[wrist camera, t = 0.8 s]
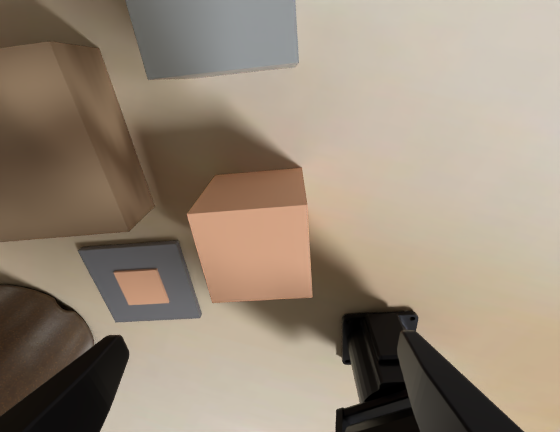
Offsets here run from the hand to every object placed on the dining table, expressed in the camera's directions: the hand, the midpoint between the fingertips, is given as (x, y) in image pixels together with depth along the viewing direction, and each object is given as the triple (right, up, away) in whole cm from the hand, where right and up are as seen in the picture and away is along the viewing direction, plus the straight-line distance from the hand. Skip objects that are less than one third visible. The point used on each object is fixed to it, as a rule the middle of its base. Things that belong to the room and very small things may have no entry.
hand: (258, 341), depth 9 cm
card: (-11, -2, +15) cm, 18 cm away
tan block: (-14, +9, +10) cm, 19 cm away
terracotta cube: (0, +5, +11) cm, 12 cm away
